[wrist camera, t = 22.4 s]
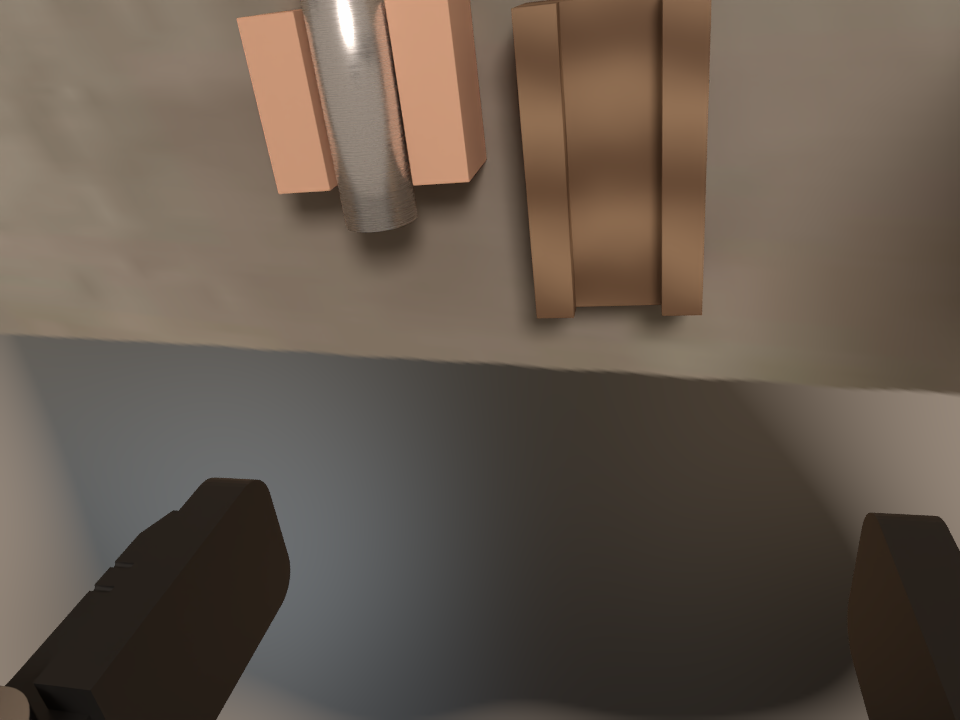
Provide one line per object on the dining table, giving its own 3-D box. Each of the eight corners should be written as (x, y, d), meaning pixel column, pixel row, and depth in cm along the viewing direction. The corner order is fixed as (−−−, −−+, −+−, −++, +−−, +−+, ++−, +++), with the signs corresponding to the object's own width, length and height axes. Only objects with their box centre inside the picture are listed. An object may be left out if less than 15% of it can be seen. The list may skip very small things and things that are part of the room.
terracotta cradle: (278, 11, 41) (236, 18, 37) (468, -12, 39) (446, -8, 35) (313, 171, 46) (278, 193, 41) (486, 159, 43) (469, 181, 39)
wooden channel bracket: (526, 2, 39) (511, 8, 34) (703, -18, 37) (711, -15, 32) (547, 284, 46) (536, 318, 42) (696, 280, 44) (701, 315, 40)
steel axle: (292, -110, 36) (264, -118, 32) (373, -121, 35) (353, -131, 32) (355, 213, 43) (337, 235, 39) (422, 207, 42) (411, 229, 39)
